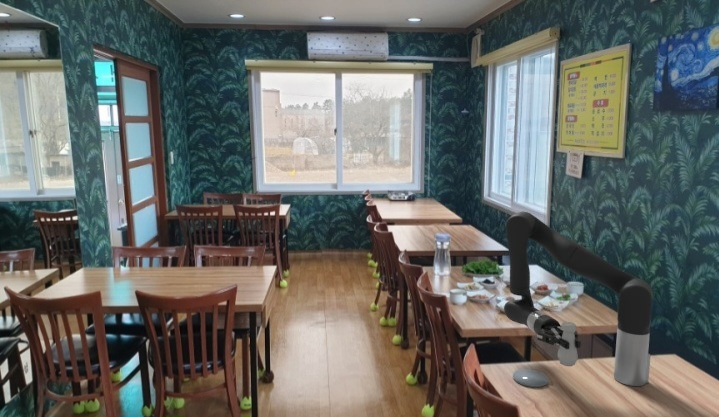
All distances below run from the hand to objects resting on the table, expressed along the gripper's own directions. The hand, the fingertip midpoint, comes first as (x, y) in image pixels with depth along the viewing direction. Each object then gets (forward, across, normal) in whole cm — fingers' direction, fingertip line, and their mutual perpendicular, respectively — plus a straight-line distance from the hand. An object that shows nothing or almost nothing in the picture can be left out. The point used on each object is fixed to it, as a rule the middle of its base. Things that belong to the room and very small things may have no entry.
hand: (573, 345), depth 151 cm
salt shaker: (-3, 0, +7) cm, 8 cm away
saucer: (-13, -6, +17) cm, 22 cm away
